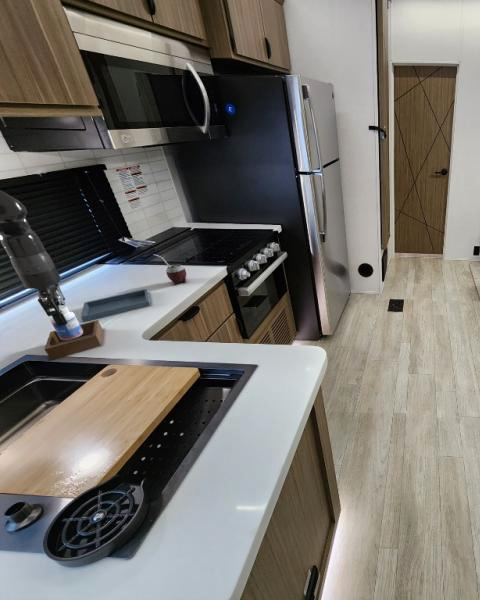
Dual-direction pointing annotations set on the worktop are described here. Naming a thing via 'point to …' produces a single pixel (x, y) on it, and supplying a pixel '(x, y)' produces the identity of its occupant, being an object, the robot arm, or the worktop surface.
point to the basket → (75, 341)
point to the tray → (115, 305)
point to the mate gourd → (175, 272)
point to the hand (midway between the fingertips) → (64, 320)
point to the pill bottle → (67, 325)
